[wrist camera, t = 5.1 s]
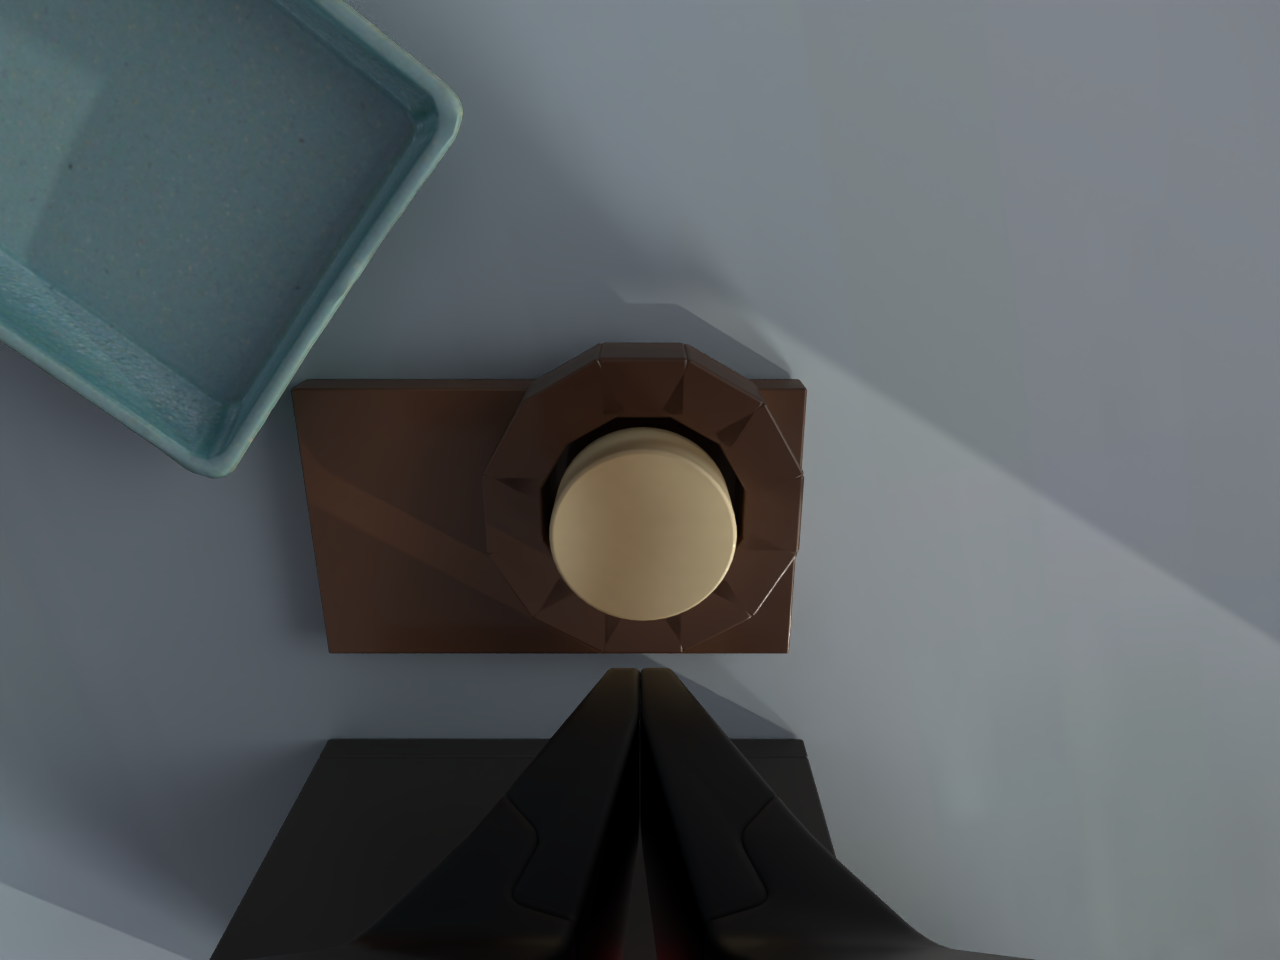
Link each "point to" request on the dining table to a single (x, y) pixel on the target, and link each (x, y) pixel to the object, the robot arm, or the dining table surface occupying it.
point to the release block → (535, 503)
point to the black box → (422, 835)
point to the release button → (642, 524)
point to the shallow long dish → (198, 198)
